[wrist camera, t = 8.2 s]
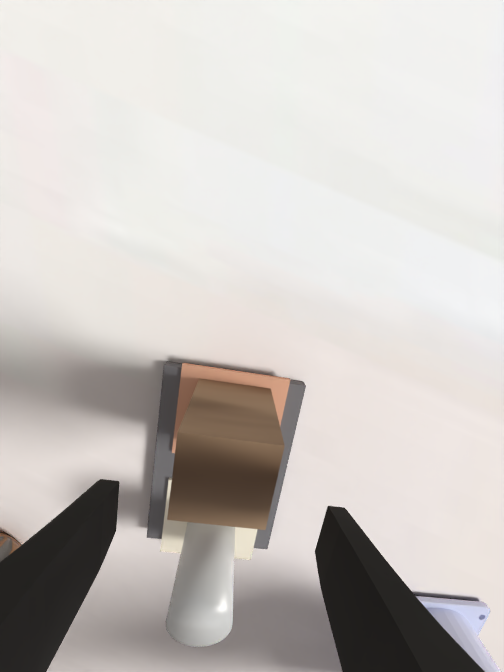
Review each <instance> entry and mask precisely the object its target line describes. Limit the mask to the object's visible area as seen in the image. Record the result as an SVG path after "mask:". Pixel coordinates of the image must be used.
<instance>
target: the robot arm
mask: <svg viewBox="0 0 504 672" xmlns="http://www.w3.org/2000/svg"><path fill="white" fill-rule="evenodd" d="M118 494H119V481H112V480H103V479H100V480H99V481H97V482H96V483H95V484H94V485H93V486H92V487H90V488H89V489H88V490H87V491H86V492H85V493H84V494H82V495H81V496H80V497H79V498H78V499H77V500H75V501H74V502H73V503H72V504H71V505H70V506H69V507H67V508H66V509H65V510H64V511H63V512H61V513H60V514H59V515H58V516H57V517H56V518H54V519H53V520H52V521H51V522H49V523H48V524H47V525H46V526H45V527H43V528H42V529H41V530H40V531H39V532H37V533H36V534H35V535H34V536H32V537H31V538H30V539H29V540H28V541H26V542H25V543H24V544H23V545H21V546H20V547H19V548H17V549H16V550H15V551H13V552H12V553H11V554H10V555H8V556H7V557H6V558H4V559H3V560H2V561H0V672H46V671H47V669H48V667H49V665H50V663H51V662H52V660H53V658H54V656H55V654H56V652H57V650H58V648H59V646H60V644H61V643H62V641H63V639H64V637H65V635H66V633H67V631H68V629H69V627H70V625H71V624H72V622H73V620H74V618H75V616H76V614H77V612H78V610H79V608H80V606H81V605H82V603H83V601H84V599H85V597H86V595H87V593H88V591H89V589H90V587H91V585H92V583H93V582H94V580H95V578H96V576H97V574H98V572H99V570H100V568H101V565H102V563H103V561H104V558H105V556H106V554H107V551H108V549H109V546H110V544H111V542H112V539H113V537H114V534H115V532H116V523H117V509H118ZM315 555H316V561H317V567H318V574H319V579H320V585H321V590H322V594H323V598H324V602H325V606H326V610H327V614H328V618H329V622H330V625H331V629H332V633H333V637H334V640H335V644H336V648H337V652H338V656H339V659H340V663H341V667H342V671H343V672H501V670H500V669H499V667H498V666H497V664H496V663H495V661H494V660H493V658H492V657H491V655H490V653H489V652H488V650H487V649H486V647H485V646H484V644H483V643H482V641H481V640H480V638H479V637H478V635H479V633H480V631H481V629H482V627H483V625H484V623H485V621H486V619H487V618H488V616H489V614H490V608H489V607H488V606H487V604H486V603H484V602H478V601H467V600H456V599H445V598H434V597H422V596H415V595H414V594H413V593H412V591H411V590H410V589H409V588H408V587H407V585H406V584H405V583H404V582H403V581H402V579H401V578H400V577H399V576H398V575H397V573H396V572H395V571H394V570H393V569H392V567H391V566H390V565H389V564H388V562H387V561H386V560H385V559H384V557H383V556H382V555H381V554H380V552H379V551H378V550H377V548H376V547H375V546H374V545H373V543H372V542H371V541H370V540H369V538H368V537H367V536H366V534H365V533H364V532H363V530H362V529H361V528H360V527H359V525H358V524H357V523H356V521H355V520H354V519H353V518H352V516H351V515H350V514H349V513H348V511H347V510H346V509H345V508H342V507H333V506H328V508H327V511H326V515H325V518H324V522H323V525H322V529H321V532H320V536H319V539H318V543H317V546H316V550H315Z"/></svg>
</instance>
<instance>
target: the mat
mask: <svg viewBox="0 0 504 672" xmlns="http://www.w3.org/2000/svg"><path fill="white" fill-rule="evenodd" d="M199 378H201V379H208V380H215V381H222V382H229V383H236V384H243V385H250V386H257V387H263V388H270V389H271V392H272V396H273V400H274V404H275V408H276V412H277V416H278V420H279V424H280V429H281V433H282V437H283V441H284V445H285V447H284V451H283V455H282V460H281V464H280V469H279V473H278V477H277V482H276V486H275V490H274V495H273V499H272V504H271V508H270V512H269V517H268V521H267V526H266V530H259V529H250V528H240V527H235V552H234V559H244V560H251V557H252V552H253V548H260V549H267V548H268V544H269V540H270V536H271V531H272V527H273V523H274V519H275V514H276V510H277V506H278V502H279V497H280V493H281V489H282V485H283V480H284V476H285V472H286V468H287V463H288V459H289V455H290V451H291V447H292V442H293V438H294V434H295V430H296V425H297V421H298V417H299V413H300V408H301V404H302V400H303V396H304V391H305V387H306V386H305V384H304V382H302V381H295V380H290V379H289V378H282V377H276V376H269V375H262V374H255V373H249V372H242V371H235V370H228V369H222V368H215V367H208V366H201V365H195V364H188V363H182V364H180V363H174V362H166V363H165V365H164V370H163V380H162V390H161V400H160V410H159V420H158V430H157V440H156V450H155V460H154V470H153V480H152V490H151V500H150V510H149V520H148V530H147V537H148V538H158V539H162V541H161V549H160V552H171V553H181V550H182V546H183V541H184V536H185V532H186V527H187V523H188V522H182V521H173V520H167V516H168V508H169V499H170V491H171V483H172V474H173V466H174V457H175V449H176V441H177V432H178V430H179V427H180V425H181V422H182V420H183V417H184V415H185V412H186V410H187V408H188V405H189V403H190V400H191V398H192V395H193V393H194V390H195V388H196V385H197V383H198V380H199Z"/></svg>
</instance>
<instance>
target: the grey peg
mask: <svg viewBox="0 0 504 672" xmlns="http://www.w3.org/2000/svg"><path fill="white" fill-rule="evenodd" d="M234 552H235V527H230V526H221V525H211V524H201V523H192V522H188V523H187V527H186V532H185V536H184V541H183V546H182V550H181V555H180V559H179V564H178V568H177V573H176V578H175V582H174V587H173V591H172V596H171V600H170V605H169V610H168V614H167V619H166V628H167V631H168V633H169V634H170V636H171V637H172V638H173V639H175V640H176V641H178V642H179V643H182V644H184V645H187V646H193V647H205V646H210V645H213V644H216V643H218V642H220V641H221V640H223V639H224V638H225V637H226V636H227V635H228V634H229V633H230V631H231V628H232V623H233V588H234Z"/></svg>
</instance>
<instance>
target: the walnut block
mask: <svg viewBox="0 0 504 672" xmlns="http://www.w3.org/2000/svg"><path fill="white" fill-rule="evenodd" d="M284 447H285V445H284V441H283V437H282V433H281V429H280V424H279V420H278V416H277V412H276V408H275V404H274V400H273V396H272V392H271V389H270V388H263V387H257V386H250V385H243V384H236V383H229V382H222V381H215V380H208V379H201V378H199V380H198V383H197V385H196V388H195V390H194V393H193V395H192V398H191V400H190V403H189V405H188V408H187V410H186V412H185V415H184V417H183V420H182V422H181V425H180V427H179V430H178V432H177V441H176V449H175V457H174V466H173V474H172V483H171V491H170V499H169V508H168V516H167V520H173V521H182V522H192V523H201V524H211V525H221V526H230V527H240V528H250V529H259V530H266V526H267V521H268V517H269V512H270V508H271V504H272V499H273V495H274V490H275V486H276V482H277V477H278V473H279V469H280V464H281V460H282V455H283V451H284Z"/></svg>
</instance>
